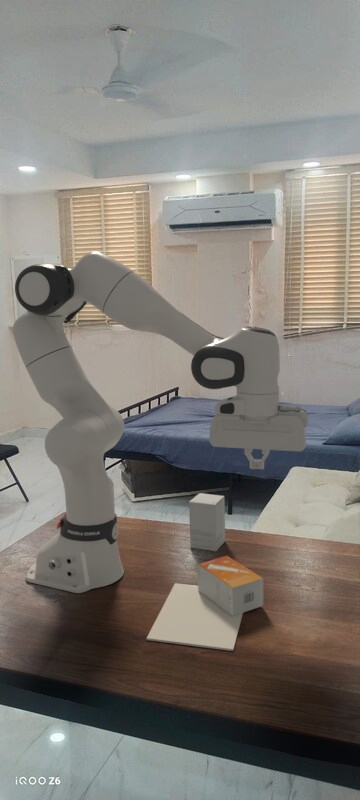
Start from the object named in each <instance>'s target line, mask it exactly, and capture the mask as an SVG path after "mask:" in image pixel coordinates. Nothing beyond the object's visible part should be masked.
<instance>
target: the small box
mask: <svg viewBox="0 0 360 800" xmlns="http://www.w3.org/2000/svg"><path fill="white" fill-rule="evenodd" d="M197 586H198V591H200V592H201V593H202V594H204V595H205V596H206V597H208V598H209V599H210V600H212V601H213V602H214V603H216V604H217V605H218V606H220V607H221V608H222V609H223V610H225V611H226V612H227V613H229V614H230V615H231V616H235V615H238V614H241V613H243V614H244V613H246V612H249V611H253V610H254V609H258V608H260V607H263V606H264V578H263V576H262V577H261V576H260V575H258V573H255V572H254V571H252V570H251V569H249V568H247V567H246V566H244V565H243V564H241V563H239V562H238V561H237V560H235V559H233V558H231V557H230V556H229V555H225V556H220V557H217V558H214V559H211V560H207V561H204V562H203V561H202V562H201V563H197Z"/></svg>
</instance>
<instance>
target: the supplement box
mask: <svg viewBox="0 0 360 800" xmlns="http://www.w3.org/2000/svg"><path fill="white" fill-rule="evenodd" d="M225 500H226V499H225V495H219V494H209V493H202V492H200V493H198V494H197V495H195V496H194V497H193V498H192V499H190V500H189V501H188V505H189V506H188V508H189V542H190V544H189V545H190V548H193V549H197V550H198V549H199V550H206V551H209V552H218V550H219V549H220V548H221V546H222V545H223V544H224V543H225V542H226V517H225V516H226V515H225V513H226V508H225V506H226V505H225V504H226V503H225V502H226V501H225Z"/></svg>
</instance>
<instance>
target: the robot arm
mask: <svg viewBox="0 0 360 800" xmlns="http://www.w3.org/2000/svg"><path fill="white" fill-rule="evenodd" d="M14 294H15V296H16V299H17V301H18V303H19V304H20V305H21V306H22V307H23V309H25V310H26V312H24V313H22V314H21V315H19V316H18V318H17V319H16V320H15V321H14V323H13V325H12V334H13V337H14V341H15V344H16V347H17V350H18V353H19V355H20V357H21V360H22V363H23V364H24V366H25V369H26V371H27V373H28V375H29V377H30V379H31V381H32V383H33V385H34V387H35V389H36V391H37V393H38V394H39V397H40V398H41V399H42V400H43V402H45V403H46V404H49V405H50V406H51V407H52V408H54V409H55V410H56V411H57V412H58V413H59V415H60V416H61V417H62V419H61V420H59V421H58V422H57V423H56V424H54V426H53V427H52V428H51V429H49V431H48V433H47V434H46V436H45V439H44V449H45V454H46V456H47V458H48V459H49V460H50V461H51V462H52V463H53V464H54V465H55V466H56V467H57V469H58V471H59V473H60V476H61V479H62V482H63V487H64V498H65V510H66V512H65V513H64V516H63V517H61V518H60V519H59V521H58V522H57V523H56V529H57V530H58V529H59V528H60V531H59V532H57V533H56V534H55V535H54V536H52V537H51V538H50V539H48V541H46V542H45V543H44V544H43V545H42V546H41V547H40V549H39V550H38V551H37V552H38V553H37V556H36V561H35V562H34V563H33V564H32V565H31V566H30V567H29V569H28V571H27V572H26V581H27V582H28V583H32V584H37V585H40V586H45V587H48V588H53V589H57V590H60V591H61V590H62V591H65V592H70V593H73V594H83V593H85V592H88V591H90V590H93V589H98V588H102V587H106V586H110V585H112V584H114V583H116V582H117V581H119V580H120V579H121V578H122V577H123V575H124V573H125V568H124V567H123V564H122V560H121V557H120V551H119V545H118V536H119V526H118V525H119V524H118V517H117V514H116V509H115V485H114V482H113V479H111V478H110V477H109V475H108V473H107V469H106V466H105V462H104V456H105V453H106V452H108V451H110V450H112V449H114V447H115V446H116V445H117V444H118V442H119V441H120V440H121V438H122V436H123V435H124V432H125V421H124V417H123V416H122V414H121V413H120V412H119V410H117V409H116V408H115V407H112V406H111V405H110V404H108V402H107V401H106V400H105V399H104V398H103V397H102V395H101V394H100V393H99V392H98V390H97V389H96V388H95V387H94V386H93V384H92V383H91V381H90V380H89V379H88V376H87V375H86V374H85V372H84V370H83V368H82V365H81V364H80V362H79V359H78V358H77V356H76V354H75V352H74V350H73V348H72V346H71V344H70V342H69V340H68V338H67V336H66V333H65V331H64V324H68V323H70V322H71V321H72V319H74V317H75V316H76V315H77V314H78V313H79V312H81V311H82V310H83V309H84V308H85V307H86V305H87V303H88V304H90V305H92V306H93V307H94V308H96V309H97V310H99V311H100V312H102V314H104V315H105V316H107V317H108V318H109V319H111V320H112V321H114V322H115V323H117V324H119V325H121V326H123V327H124V328H127V329H129V330H132V331H137V332H138V331H139V332H140V331H141V332H147V333H154V334H157V335H160V336H163V337H165V338H167V339H168V340H170V341H172V342H173V343H175V344H176V345H178V346H179V347H180V348H182V349H183V350H185V351H186V352H187V353H188V354H191V355H192V356H193V357H192V359H191V364H190V371H191V374H192V377H193V379H194V380H195V382H197V384H198V385H200V386H201V387H202V388H205V389H208V390H209V389H210V390H220V389H224V388H229V387H235V388H236V395H235V396H234V395H233V396H231V397H227V398H223V399H221V400H219V401H217V403H216V404H215V406H214V412H215V415H214V416H213V417H212V419H211V420H210V421H211V423H210V427H209V428H210V429H209V439H208V441H209V443H210V444H211V446H212V447H214V448H232V449H233V448H234V449H244V455H245V456H246V458H247V460H248V462H249V469H250V470H264V469H265V461H266V459H267V458H268V457H269V454H270V451H271V450H272V451H283V452H284V451H286V452H287V451H288V452H302V451H304V450H305V448H306V447H307V445H306V444H307V438H306V436H307V435H306V434H307V433H306V427H307V426H308V423H309V413H308V412H307V411H306V410H305V409H304V408H302V407H301V406H299V405H295V406H288V405H280V386H279V383H278V382H279V381H278V377H279V374H280V369H281V368H280V366H281V356H280V355H281V354H280V345H279V340H278V337H277V335H276V334H275V333H274V332H273V331H271V330H270V329H267V328H262V327H257V326H248V325H247V326H242V327H241V328H240V329H238V330H237V331H235V332H234V333H232V334H230V335H228V336H226V337H222V336H217V335H215V334H212V333H211V332H209V331H208V330H206V329H205V328H203V327H202V326H200V325H199V324H198V323H196V322H195V321H193V320H192V319H190V318H189V317H188V316H186V315H185V314H184V313H182V312H181V311H179V310H178V309H177V308H176V307H174V306H173V305H172V304H171V303H170V302H169V301H168V300H167V299H165V297H164V296H162V295H161V294H160V293H159V292H158V290H156V289H155V288H154V287H153V286H152V285H151V284H150V283H149V282H147V281H146V280H145V279H144V278H143V277H142V276H141V275H139V274H138V273H137V272H135V271H134V270H132V268H130V267H128V266H127V265H125V264H124V263H122V262H120V261H118V260H116V259H114V258H112V257H111V256H109V255H107V254H104V253H103V252H100V251H90V252H87V253H86V254H84V255H83V256H81V258H80V259H79V260H78V261H77V262H76V264H75V265H74V266H73V267H71V268H69V267H67V266H65V265H62V264H61V265H60V264H52V263H51V264H50V263H37V264H33V265H30V266H27V267H25V268H24V269H22V271H20V273H19V274H18V275H17V278H16V280H15V284H14ZM253 450H261V454H262V457H261V458H260V459H259V458H254V457H253V455H252V453H253Z"/></svg>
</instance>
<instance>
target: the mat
mask: <svg viewBox="0 0 360 800" xmlns="http://www.w3.org/2000/svg"><path fill="white" fill-rule="evenodd" d="M243 614H244V613H241V614H238V615H235V616H231V615H230V614H229V613H227V612H226V611H225V610H223V609H222V608H221V607H220V606H218V605H217V604H216V603H214V602H213V601H212V600H210V599H209V598H208V597H206V596H205V595H204V594H202V593H201V592H200V591H198V584H197V585H194V584H186V583H176V582H175V583H174V585H173V586H172V588H171V590H170V592H169V594H168V596H167V598H166V600H165V601H164V604H163V605H162V608H161V610H160V611H159V613H158V615H157V617H156V619H155V620H154V623H153V625H152V627H151V629H150V630H149V633H148V635H147V637H146V641H151V642H160V643H166V644H168V643H169V644H173V645H174V644H175V645H181V646H182V645H184V646H190V647H191V646H192V647H199V648H207V649H214V650H221V651H228V652H231V651H232V652H234V650H235V646H236V641H237V637H238V634H239V630H240V626H241V623H242V619H243Z"/></svg>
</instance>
